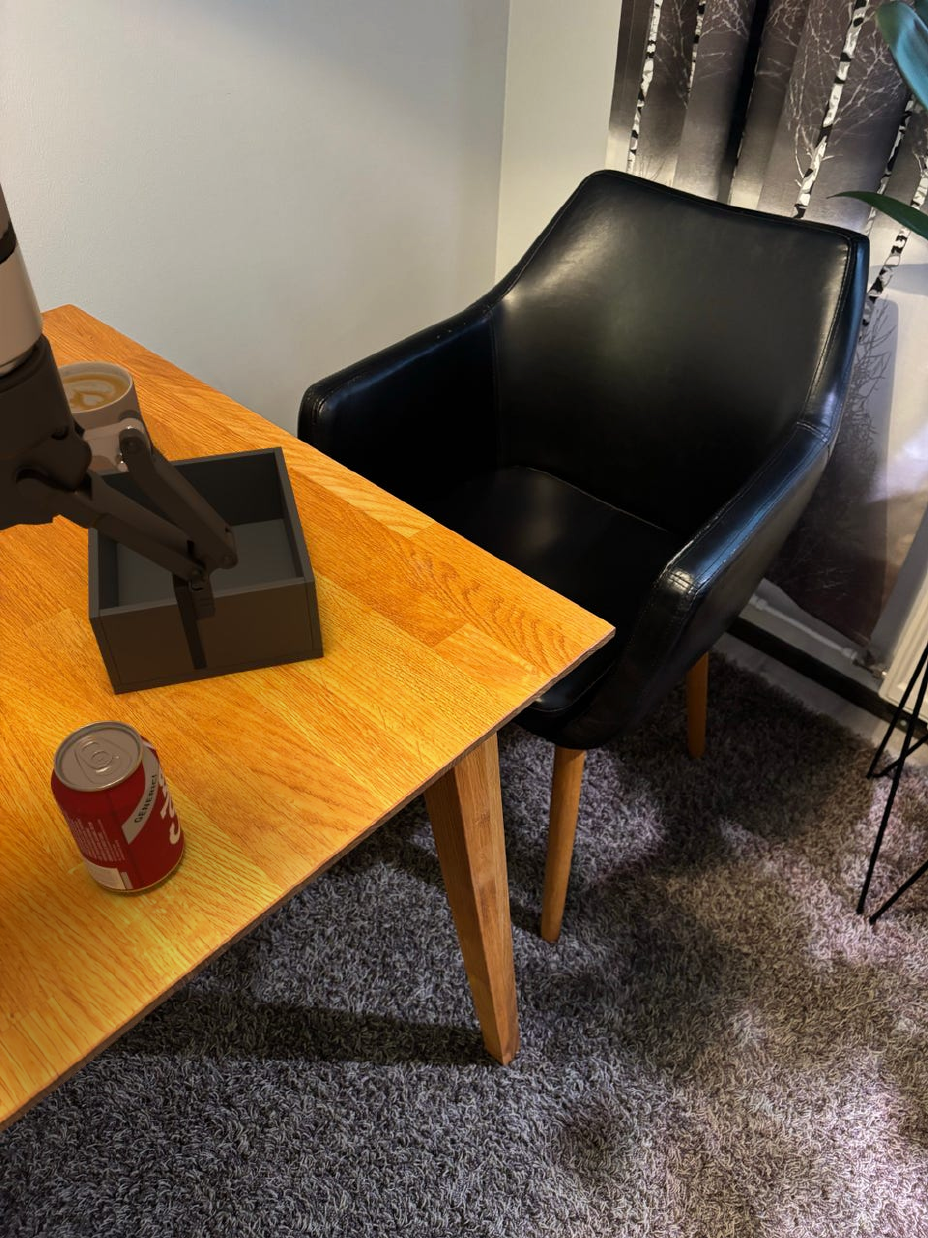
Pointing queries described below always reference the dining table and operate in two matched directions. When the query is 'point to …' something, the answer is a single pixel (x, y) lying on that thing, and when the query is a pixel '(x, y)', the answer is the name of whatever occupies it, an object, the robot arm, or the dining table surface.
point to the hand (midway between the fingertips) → (82, 675)
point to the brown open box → (244, 595)
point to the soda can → (117, 805)
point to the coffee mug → (98, 396)
